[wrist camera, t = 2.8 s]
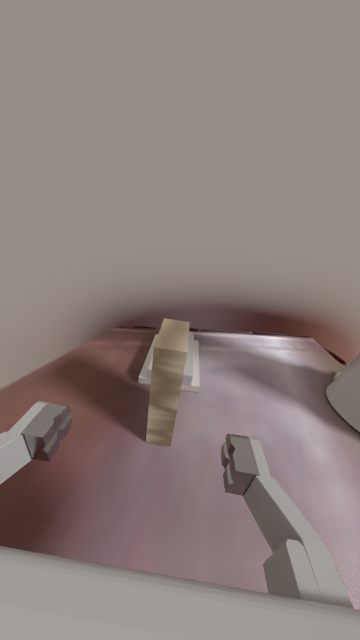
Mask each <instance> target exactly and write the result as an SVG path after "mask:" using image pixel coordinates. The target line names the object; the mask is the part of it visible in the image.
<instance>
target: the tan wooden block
mask: <svg viewBox="0 0 360 640" xmlns="http://www.w3.org/2000/svg"><path fill="white" fill-rule="evenodd" d="M188 338H189V322H185V321H178V320H172V319H164V321H163V323H162V326H161V329H160V331H159V334H158V337H157V339H156V342H155V345H154V349H153V361H152V373H151V385H150V397H149V409H148V422H147V434H146V443H152V444H158V445H164V446H170V445H171V439H172V434H173V429H174V423H175V418H176V412H177V407H178V401H179V396H180V390H181V385H182V379H183V374H184V368H185V363H186V357H187V351H188Z"/></svg>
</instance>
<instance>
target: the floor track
mask: <svg viewBox="0 0 360 640" xmlns="http://www.w3.org/2000/svg"><path fill="white" fill-rule="evenodd" d="M157 337H158V335H157V334H156V335H155V337H154V340H153V342H152V345H151V347H150V350H149V352H148V355H147V357H146V360H145V362H144V365H143V368H142V370H141V373H140V375H139V379H138V383H142V384H148V385H151V373H152V361H153V349H154V345H155V342H156V339H157ZM181 390H186V391H192V392H198V391H199V341H196V340H194V332H189V338H188V351H187V357H186V363H185V368H184V374H183V379H182V385H181Z"/></svg>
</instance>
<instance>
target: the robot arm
mask: <svg viewBox="0 0 360 640" xmlns="http://www.w3.org/2000/svg"><path fill="white" fill-rule="evenodd" d="M326 395H327V397H328V400H329V401H330V403H331V405H332V406H333V407H334V409H335V410H336V411H337V412H338V413H339V414H340V415H341V416H342V417H343V418H344V419H345V420H346V421H347V422H348V423H349V424H350V425H351V426H352V427H354V428H355V429H356V430H357V431H359V432H360V353H359V354H358V355H357V356H356V357H355V358H354V359H353V360H352V361H351V362H350V363H349V365H348V366H347V367H346V368H345V369H344V370H343V371H342V373H340V372H338V373H336V375H335V376H334V381H333V382H332V383H331V384H329V385H328V386H327V388H326ZM70 412H71V410H70V407H68V406H63V405H57V404H52V403H47V402H41V401H39V402H37V403H35V404H34V405H33V406H32V407H31V408H30V409H29V410H28V411H27V413H26V414H25V415H24V416H23V417H22V418H21V419H20V420H19V421H18V422H17V423H16V424H15V425H14V426H13V427H12V428H11V429H10V430H9V431H8V432H3V433H1V434H0V484H1V483H3V482H4V481H5V480H6V479H8V478H9V477H10V476H12V475H13V474H14V473H15V472H17V471H18V470H19V469H21V468H22V467H23V466H24V465H26V464H27V463H28V462H30V461H31V459H35V460H43V461H50V460H51V458H52V457H53V455H54V454H55V452H56V451H57V449H58V448H59V441H60V440H62V439H63V438H65V437H66V435H67V434H68V432H69V430H70V427H71V425H72V417H71V416H70V415H69V413H70ZM221 461H222V465H223V467H224V468H225V472H224V474H223V478H224V487H225V492H227V493H232V494H237V495H242V496H243V498H244V500H245V502H246V503H247V505H248V507H249V509H250V511H251V513H252V515H253V516H254V518H255V520H256V522H257V524H258V526H259V527H260V529H261V531H262V533H263V535H264V537H265V538H266V540H267V542H268V544H269V546H270V548H271V550H272V551H273V554H272V555H271V556H270V557H269V558H268V559H267V560H266V561H265V562H264V564H263V567H264V572H265V577H266V582H267V587H268V592H269V594H268V593H262V592H256V591H251V590H245V589H240V588H234V587H228V586H223V585H217V584H211V583H206V582H200V581H195V580H189V579H183V578H178V577H172V576H167V575H161V574H155V573H150V572H144V571H139V570H133V569H127V568H122V567H116V566H110V565H105V564H99V563H94V562H88V561H82V560H77V559H71V558H66V557H60V556H54V555H49V554H43V553H37V552H32V551H26V550H21V549H15V548H9V547H4V546H0V640H360V610H357V609H354V608H353V606H352V604H351V601H350V599H349V597H348V594H347V592H346V589H345V587H344V585H343V582H342V580H341V578H340V575H339V573H338V570H337V568H336V566H335V563H334V561H333V559H332V556H331V554H330V551H329V549H328V547H327V545H326V543H325V542H324V541H323V540H322V538H321V537H320V536H319V534H318V533H317V532H316V531H315V529H314V528H313V527H312V526H311V524H310V523H309V522H308V520H307V519H306V518H305V517H304V515H303V514H302V513H301V512H300V510H299V509H298V508H297V506H296V505H295V504H294V503H293V501H292V500H291V499H290V498H289V496H288V495H287V494H286V493H285V491H284V490H283V489H282V487H281V486H280V485H279V484H278V482H277V481H276V480H275V479H274V478H271V475H270V472H269V469H268V466H267V463H266V460H265V456H264V453H263V450H262V447H261V444H260V441H259V440H258V439H257V438H251V437H247V436H240V435H234V434H227V435H226V442H225V443H223V445H222V450H221Z"/></svg>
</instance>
